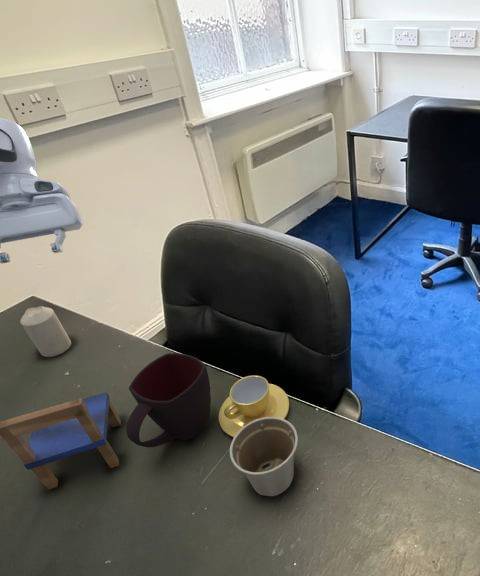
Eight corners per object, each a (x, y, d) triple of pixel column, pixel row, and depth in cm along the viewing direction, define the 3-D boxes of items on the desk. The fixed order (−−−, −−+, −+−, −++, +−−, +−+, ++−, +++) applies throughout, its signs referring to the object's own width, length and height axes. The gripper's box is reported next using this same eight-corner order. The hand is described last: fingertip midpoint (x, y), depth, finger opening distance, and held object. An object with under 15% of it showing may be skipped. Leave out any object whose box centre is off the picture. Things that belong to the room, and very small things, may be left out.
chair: (55, 439, 73) (10, 377, 64) (122, 418, 77) (87, 357, 68) (46, 491, 66) (-7, 429, 57) (120, 466, 69) (80, 403, 60)
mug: (231, 411, 77) (214, 362, 70) (174, 480, 67) (148, 431, 60) (186, 395, 80) (166, 347, 73) (125, 459, 70) (95, 410, 63)
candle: (34, 353, 90) (9, 315, 84) (59, 336, 94) (37, 299, 88) (52, 360, 88) (28, 322, 82) (77, 342, 92) (56, 305, 87)
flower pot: (269, 441, 72) (260, 407, 67) (316, 465, 69) (310, 431, 64) (228, 489, 66) (214, 456, 61) (278, 519, 62) (268, 486, 57)
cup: (263, 374, 84) (257, 354, 81) (303, 408, 77) (299, 387, 74) (205, 413, 77) (197, 392, 73) (244, 453, 70) (237, 433, 67)
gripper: (-53, 198, 86) (-39, 264, 85) (66, 181, 93) (81, 242, 92) (-34, 210, 92) (-21, 272, 91) (77, 193, 99) (91, 250, 98)
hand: (31, 257), depth 91 cm, fingers open, 8 cm apart
